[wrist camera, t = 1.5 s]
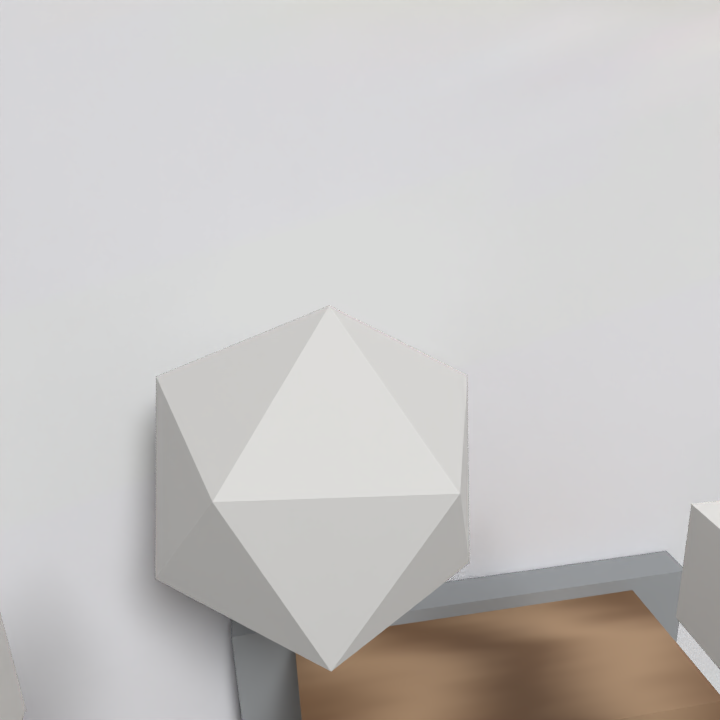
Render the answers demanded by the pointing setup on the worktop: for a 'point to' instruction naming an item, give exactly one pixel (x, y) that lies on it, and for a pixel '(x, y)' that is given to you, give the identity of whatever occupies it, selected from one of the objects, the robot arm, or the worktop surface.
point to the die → (312, 482)
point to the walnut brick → (517, 668)
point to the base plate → (638, 573)
